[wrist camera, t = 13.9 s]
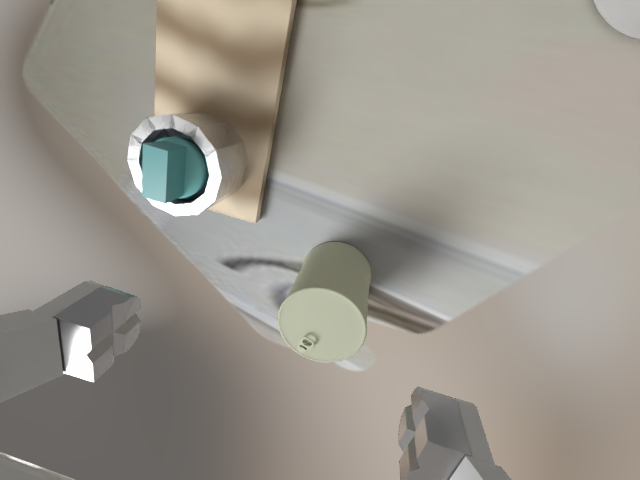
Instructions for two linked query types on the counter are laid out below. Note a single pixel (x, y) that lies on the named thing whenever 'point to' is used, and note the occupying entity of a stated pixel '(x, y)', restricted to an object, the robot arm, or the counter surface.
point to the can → (328, 304)
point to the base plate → (227, 76)
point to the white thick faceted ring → (216, 144)
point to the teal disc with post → (173, 169)
